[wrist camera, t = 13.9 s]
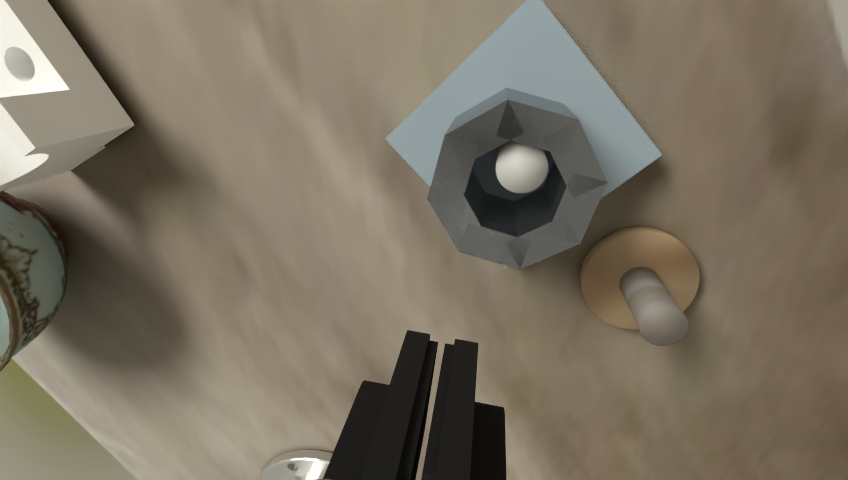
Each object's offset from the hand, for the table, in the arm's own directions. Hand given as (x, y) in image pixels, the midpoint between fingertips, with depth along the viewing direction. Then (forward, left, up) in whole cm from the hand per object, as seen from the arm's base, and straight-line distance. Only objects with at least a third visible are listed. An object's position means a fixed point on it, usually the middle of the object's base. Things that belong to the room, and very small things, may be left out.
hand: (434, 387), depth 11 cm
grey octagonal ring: (+1, -2, -16) cm, 16 cm away
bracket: (+17, +22, -18) cm, 33 cm away
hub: (+1, -3, -18) cm, 18 cm away
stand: (-9, -7, -18) cm, 21 cm away
